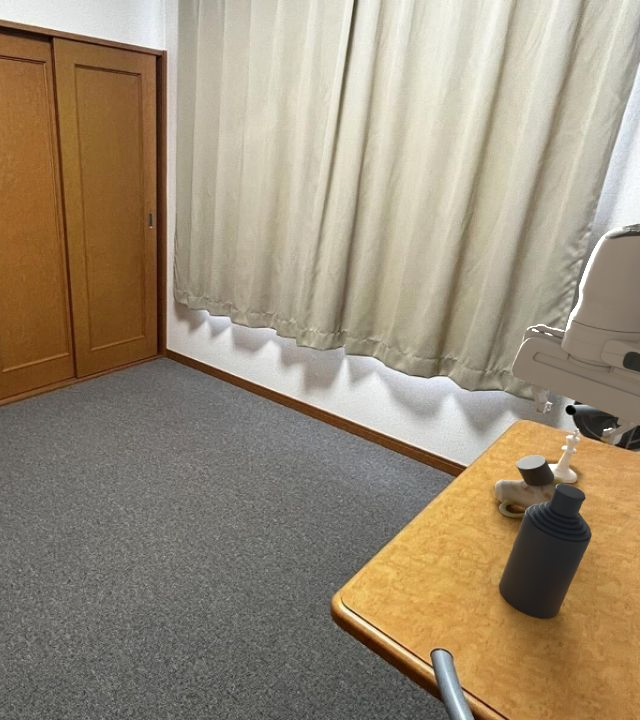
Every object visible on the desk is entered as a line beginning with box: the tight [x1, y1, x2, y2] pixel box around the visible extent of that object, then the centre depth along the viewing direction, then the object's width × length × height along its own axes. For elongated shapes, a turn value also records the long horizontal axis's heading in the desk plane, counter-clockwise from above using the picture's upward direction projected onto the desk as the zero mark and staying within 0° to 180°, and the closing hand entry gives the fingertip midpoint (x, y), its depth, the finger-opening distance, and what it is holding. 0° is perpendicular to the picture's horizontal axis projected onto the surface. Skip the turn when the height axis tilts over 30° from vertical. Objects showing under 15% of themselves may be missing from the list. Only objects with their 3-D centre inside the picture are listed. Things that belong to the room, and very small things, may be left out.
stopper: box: [515, 454, 554, 486], centre depth 78 cm, size 4×4×3 cm
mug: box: [494, 475, 564, 519], centre depth 79 cm, size 8×10×10 cm
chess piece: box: [548, 427, 581, 484], centre depth 87 cm, size 5×5×10 cm
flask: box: [498, 483, 593, 620], centre depth 61 cm, size 7×7×18 cm
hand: (573, 426), depth 72 cm, fingers open, 8 cm apart
